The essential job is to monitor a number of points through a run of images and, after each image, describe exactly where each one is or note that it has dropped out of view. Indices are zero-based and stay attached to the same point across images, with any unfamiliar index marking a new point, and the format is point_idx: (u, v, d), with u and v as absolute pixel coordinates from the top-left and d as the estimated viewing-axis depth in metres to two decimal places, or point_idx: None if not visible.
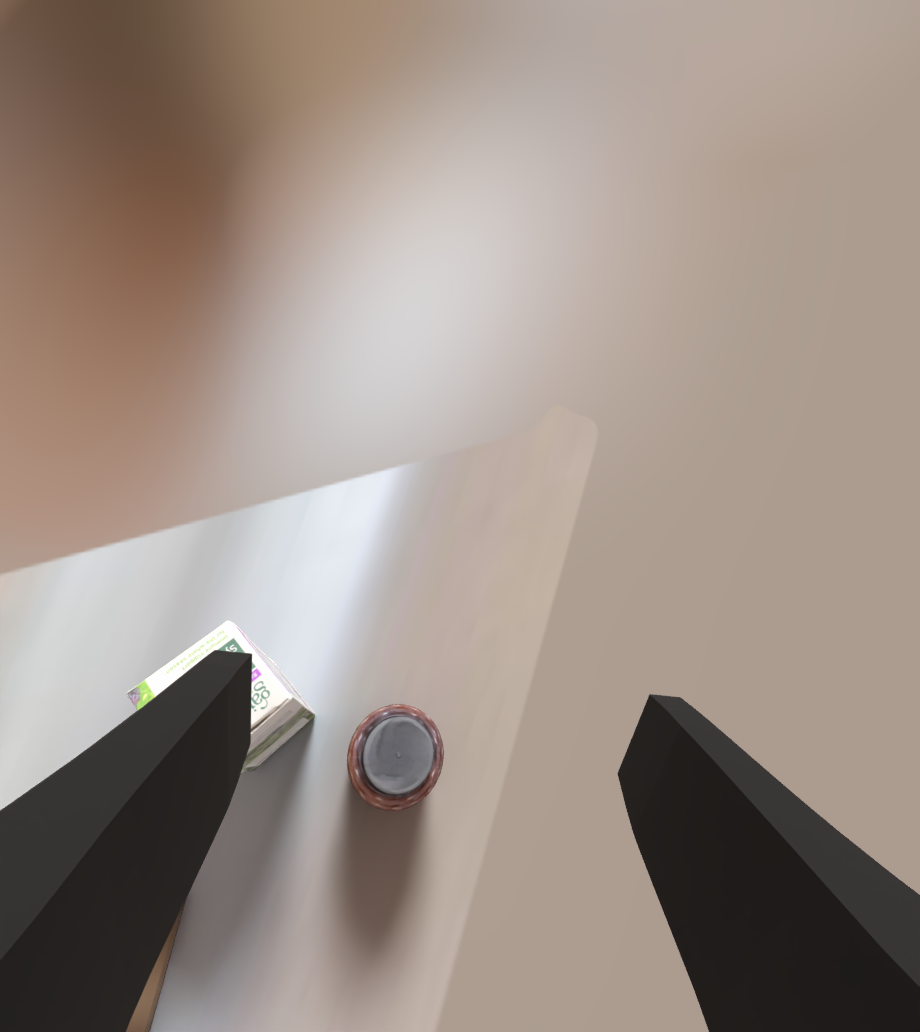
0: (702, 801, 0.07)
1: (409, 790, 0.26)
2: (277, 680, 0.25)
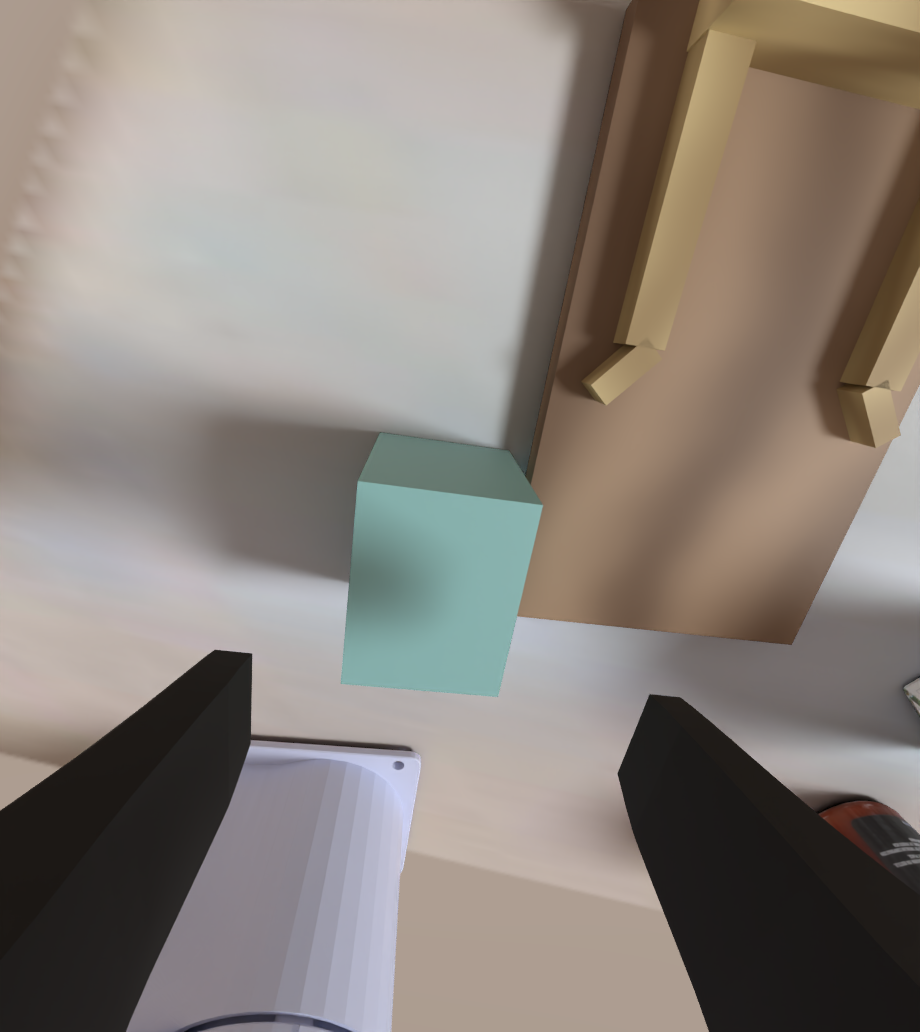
0: (702, 802, 0.07)
1: None
2: None
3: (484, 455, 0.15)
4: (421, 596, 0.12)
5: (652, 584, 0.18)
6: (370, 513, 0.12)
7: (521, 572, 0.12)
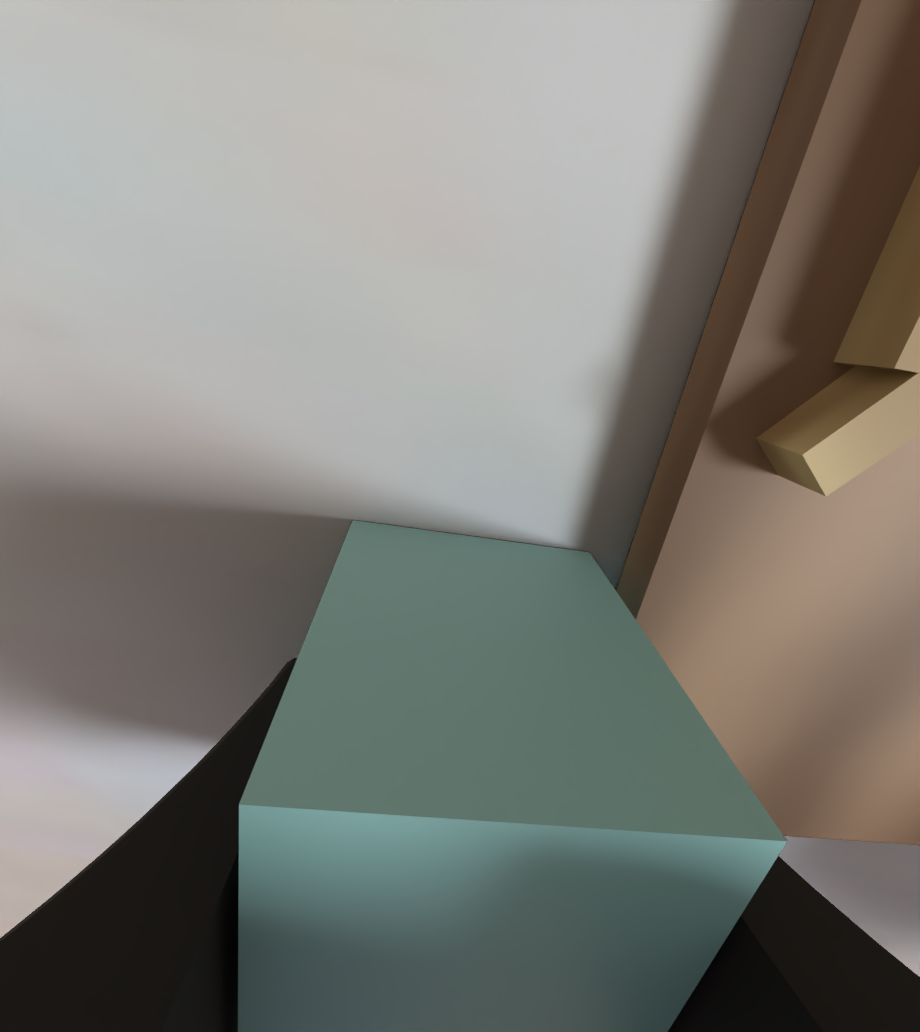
0: None
1: None
2: None
3: (554, 578, 0.08)
4: (430, 1018, 0.05)
5: (823, 774, 0.10)
6: (284, 874, 0.04)
7: (692, 967, 0.05)
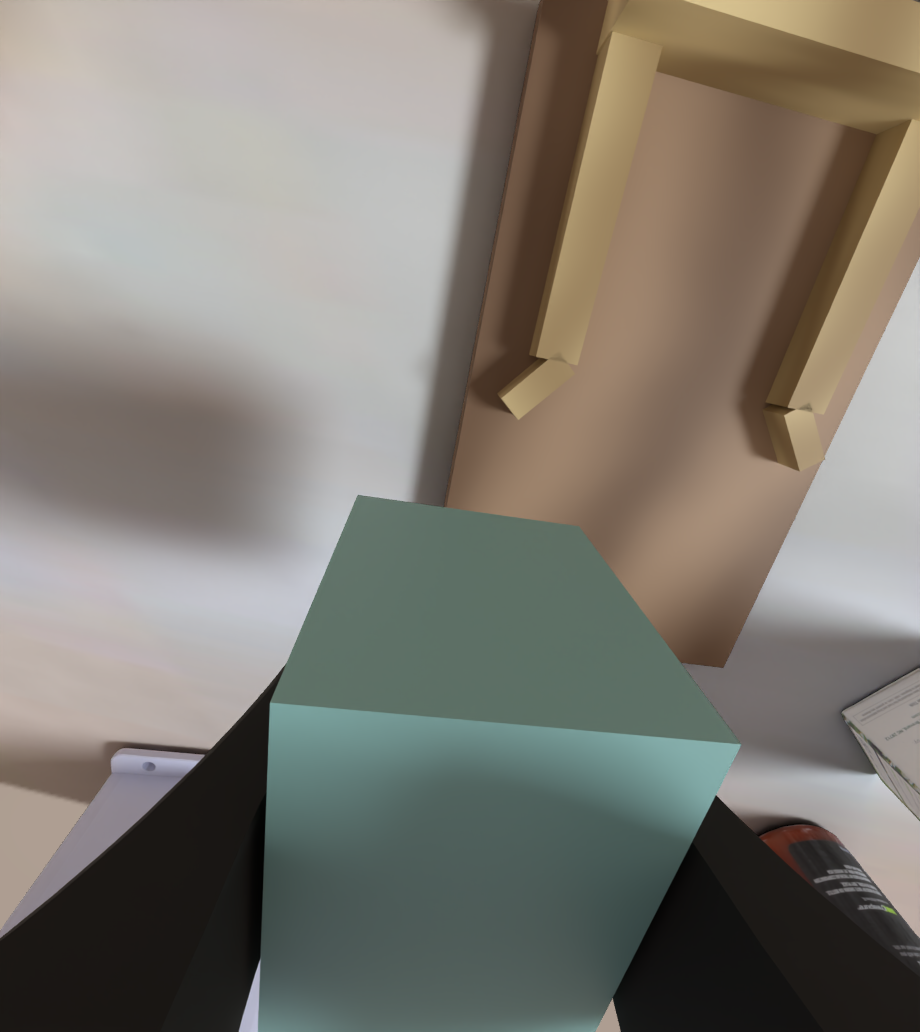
0: None
1: None
2: None
3: (545, 546, 0.09)
4: (432, 917, 0.05)
5: None
6: (306, 771, 0.04)
7: (664, 869, 0.05)
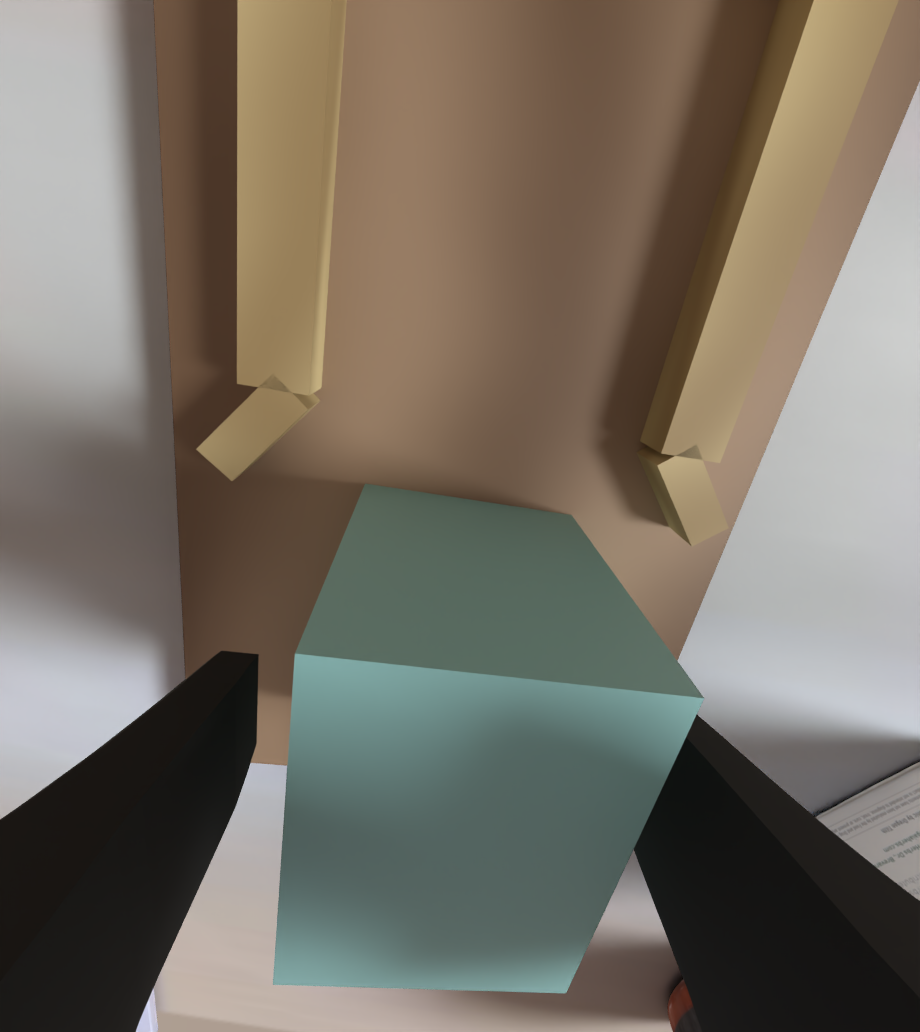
0: (695, 801, 0.07)
1: None
2: None
3: (539, 532, 0.09)
4: (431, 854, 0.06)
5: None
6: (324, 715, 0.05)
7: (638, 813, 0.06)
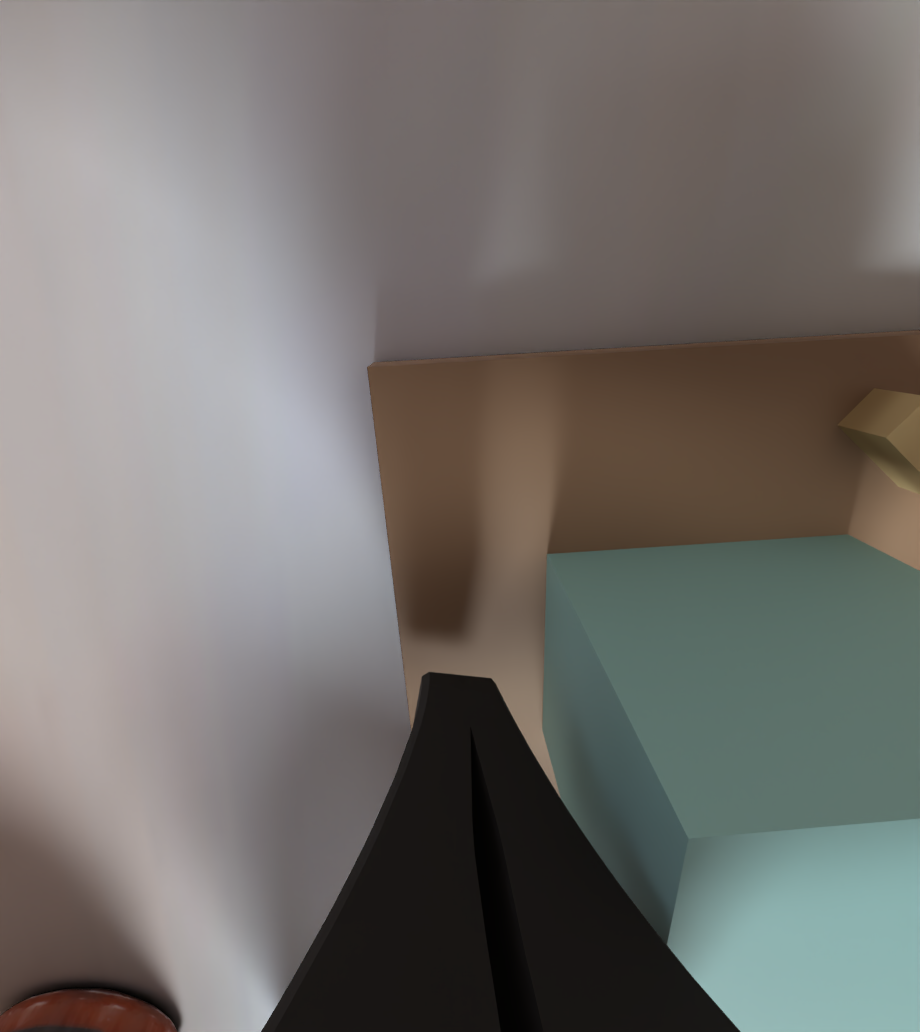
0: None
1: None
2: None
3: None
4: None
5: (496, 633, 0.10)
6: None
7: None
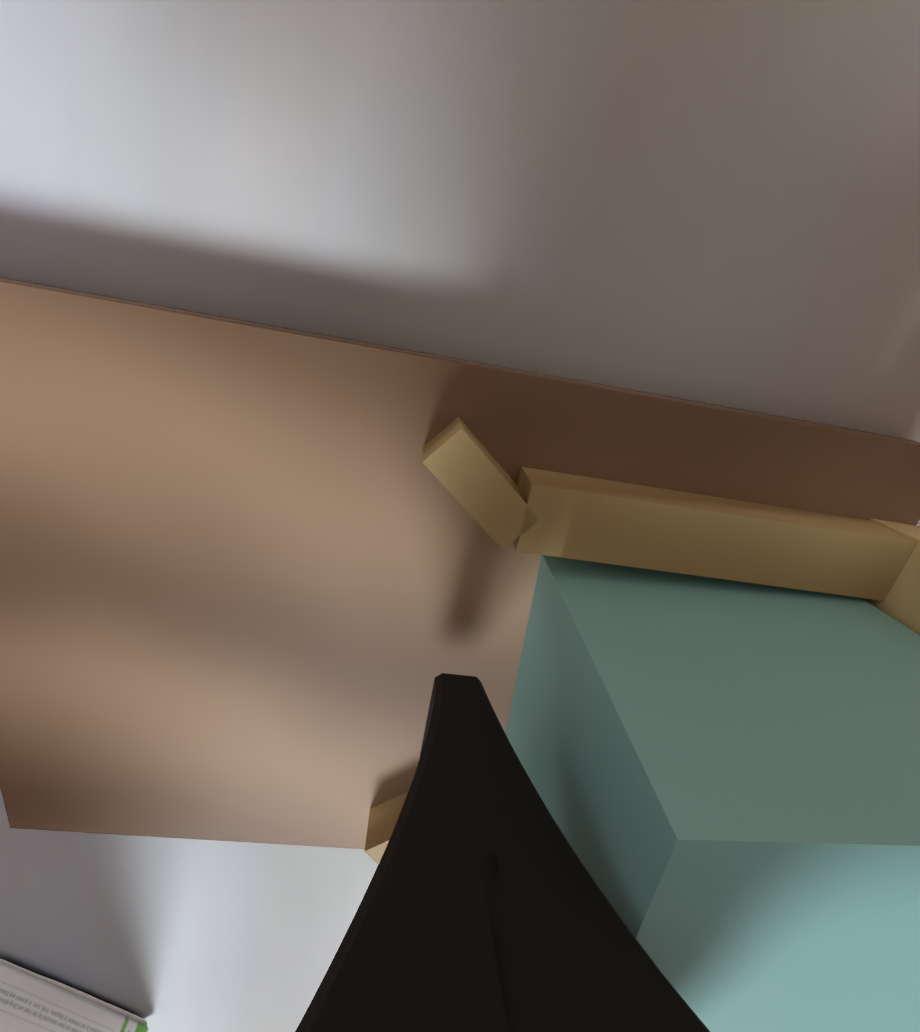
0: None
1: None
2: None
3: None
4: (903, 965, 0.05)
5: (65, 596, 0.09)
6: None
7: None
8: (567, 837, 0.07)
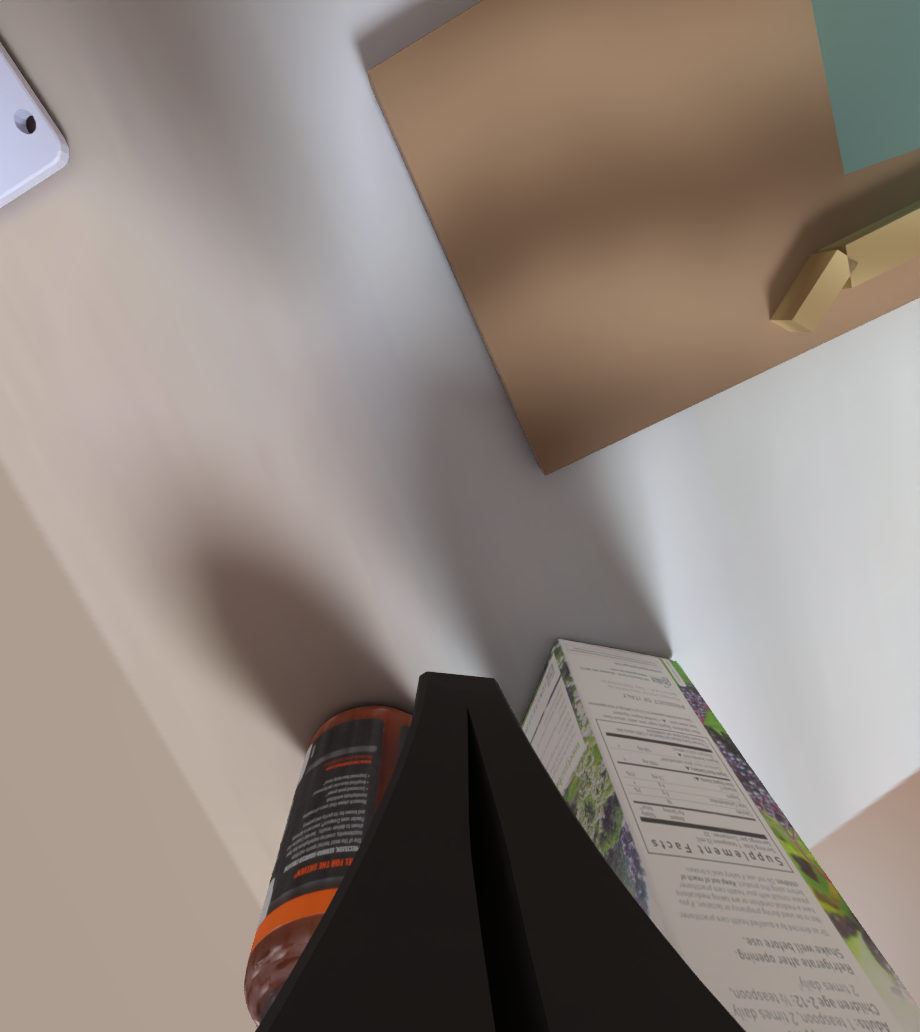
0: (470, 783, 0.07)
1: None
2: None
3: None
4: None
5: (522, 250, 0.14)
6: None
7: None
8: None
